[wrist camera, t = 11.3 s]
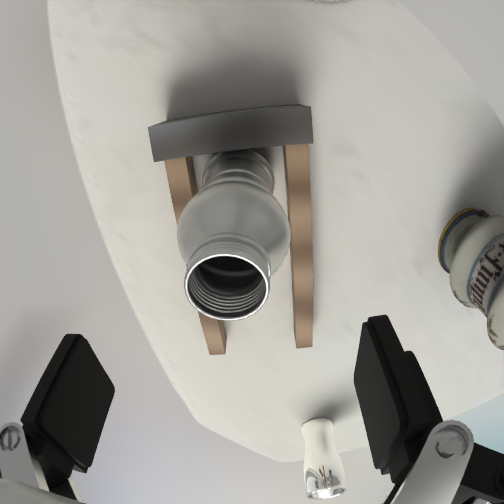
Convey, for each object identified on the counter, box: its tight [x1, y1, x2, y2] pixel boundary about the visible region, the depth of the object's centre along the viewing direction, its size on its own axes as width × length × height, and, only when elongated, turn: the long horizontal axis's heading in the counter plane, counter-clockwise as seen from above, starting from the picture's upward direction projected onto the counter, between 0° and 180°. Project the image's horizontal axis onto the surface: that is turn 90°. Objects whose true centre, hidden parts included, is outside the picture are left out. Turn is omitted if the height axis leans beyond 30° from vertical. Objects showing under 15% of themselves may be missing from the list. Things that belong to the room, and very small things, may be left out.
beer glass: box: [301, 418, 346, 499], centre depth 47 cm, size 7×7×15 cm
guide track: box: [148, 104, 313, 355], centre depth 32 cm, size 28×13×6 cm, turn 6°
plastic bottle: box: [177, 149, 291, 321], centre depth 22 cm, size 6×7×20 cm
